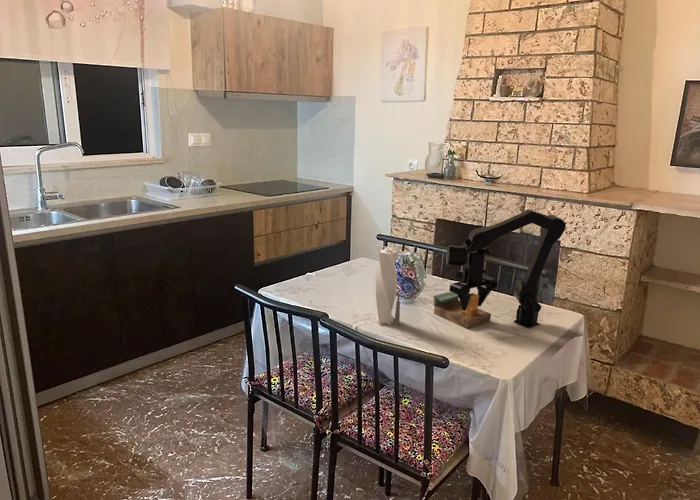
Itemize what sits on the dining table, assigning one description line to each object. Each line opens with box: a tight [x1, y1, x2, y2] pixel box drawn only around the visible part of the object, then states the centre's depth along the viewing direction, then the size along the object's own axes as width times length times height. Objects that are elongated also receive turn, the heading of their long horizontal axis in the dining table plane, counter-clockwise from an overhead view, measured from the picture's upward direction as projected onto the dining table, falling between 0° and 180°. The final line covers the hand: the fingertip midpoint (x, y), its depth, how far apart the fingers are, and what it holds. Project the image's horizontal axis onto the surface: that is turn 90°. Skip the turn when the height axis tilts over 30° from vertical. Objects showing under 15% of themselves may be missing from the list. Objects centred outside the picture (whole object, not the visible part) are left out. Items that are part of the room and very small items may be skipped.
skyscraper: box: [374, 244, 401, 327], centre depth 180 cm, size 8×8×28 cm
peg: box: [465, 292, 479, 317], centre depth 185 cm, size 3×3×10 cm
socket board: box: [432, 291, 492, 330], centre depth 188 cm, size 16×13×7 cm
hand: (471, 308), depth 185 cm, fingers open, 8 cm apart
